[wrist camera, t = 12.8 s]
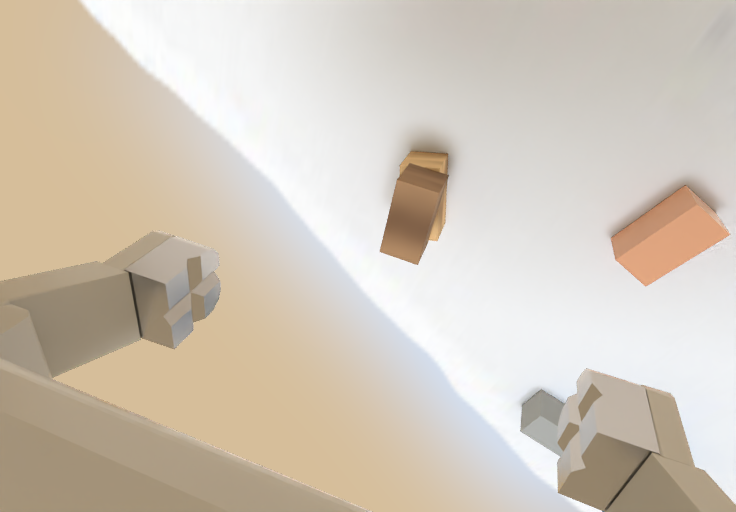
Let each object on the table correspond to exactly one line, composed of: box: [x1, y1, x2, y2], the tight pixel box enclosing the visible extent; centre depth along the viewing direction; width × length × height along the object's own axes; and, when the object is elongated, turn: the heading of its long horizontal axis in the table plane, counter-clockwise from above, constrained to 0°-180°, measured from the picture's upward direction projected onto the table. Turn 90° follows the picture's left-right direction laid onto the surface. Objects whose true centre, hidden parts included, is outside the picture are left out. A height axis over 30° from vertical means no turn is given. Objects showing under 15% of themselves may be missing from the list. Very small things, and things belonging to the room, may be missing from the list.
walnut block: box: [380, 163, 449, 265], centre depth 40 cm, size 7×4×4 cm, turn 169°
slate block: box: [520, 389, 565, 457], centre depth 52 cm, size 7×4×4 cm, turn 63°
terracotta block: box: [611, 185, 730, 286], centre depth 39 cm, size 7×4×4 cm, turn 143°
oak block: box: [400, 151, 448, 241], centre depth 44 cm, size 7×4×4 cm, turn 2°
